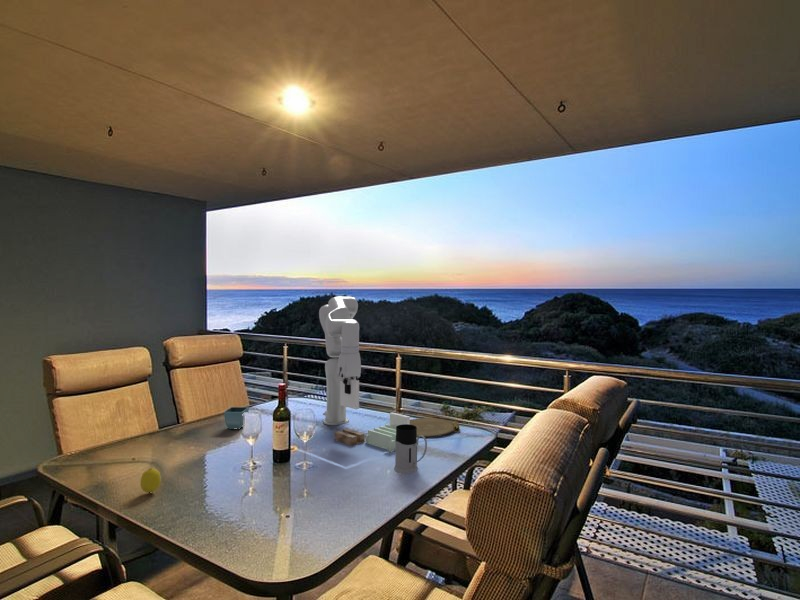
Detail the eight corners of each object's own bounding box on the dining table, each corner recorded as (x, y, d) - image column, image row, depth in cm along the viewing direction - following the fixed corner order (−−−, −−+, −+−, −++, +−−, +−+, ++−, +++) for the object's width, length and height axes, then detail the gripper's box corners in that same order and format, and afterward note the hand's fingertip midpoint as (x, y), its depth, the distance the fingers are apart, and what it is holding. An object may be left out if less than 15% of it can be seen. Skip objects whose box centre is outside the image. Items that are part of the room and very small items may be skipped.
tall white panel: (340, 405, 188) (340, 377, 187) (343, 404, 189) (343, 377, 188) (356, 409, 181) (356, 380, 181) (359, 408, 182) (359, 380, 182)
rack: (365, 444, 182) (365, 418, 182) (392, 434, 195) (392, 410, 194) (389, 452, 173) (390, 424, 173) (416, 441, 186) (416, 416, 185)
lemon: (146, 499, 132) (146, 472, 132) (136, 494, 135) (137, 469, 134) (164, 492, 136) (164, 466, 136) (154, 488, 139) (155, 463, 139)
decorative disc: (396, 416, 219) (455, 414, 219) (397, 422, 219) (456, 420, 219) (394, 434, 191) (462, 431, 190) (395, 441, 191) (463, 439, 190)
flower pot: (242, 431, 198) (242, 411, 198) (223, 431, 199) (223, 411, 198) (249, 425, 207) (249, 407, 207) (230, 425, 207) (230, 406, 207)
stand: (333, 441, 185) (333, 432, 185) (346, 437, 191) (346, 428, 191) (352, 447, 178) (352, 438, 178) (365, 443, 183) (365, 433, 183)
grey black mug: (406, 462, 163) (406, 422, 162) (434, 473, 152) (434, 430, 152) (389, 468, 156) (389, 427, 156) (417, 480, 146) (417, 436, 146)
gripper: (357, 347, 193) (356, 388, 193) (330, 351, 181) (329, 394, 181) (369, 349, 188) (368, 391, 188) (342, 353, 176) (341, 398, 176)
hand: (349, 392), depth 185 cm, fingers closed on tall white panel, 1 cm apart
